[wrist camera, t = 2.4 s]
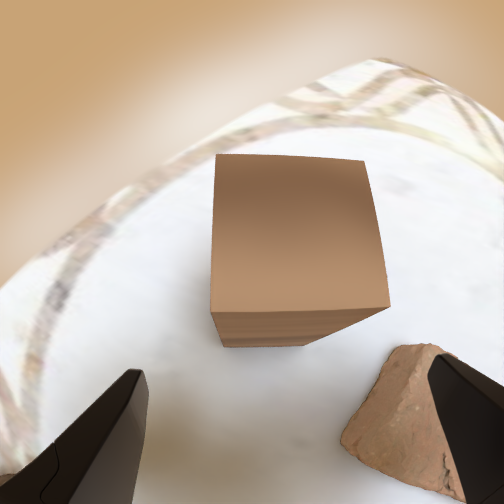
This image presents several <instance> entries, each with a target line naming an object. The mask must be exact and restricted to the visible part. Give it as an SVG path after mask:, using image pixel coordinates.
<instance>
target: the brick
mask: <svg viewBox="0 0 504 504" xmlns="http://www.w3.org/2000/svg"><path fill="white" fill-rule="evenodd" d="M442 353H449V352H446V351H444V350H442V349H441V348H440V347H439V346H436V345H432V344H430V343H429V344H427V345H426V344H422V343H421V344H418V345H401V346H399V347H398V348H396V349H395V350H394V352H393V353H392V354H391V355H390V356H389V359H388V361H386V362H385V363H384V365H383V366H382V368H381V373H380V374H379V378H378V379H377V381H376V385H375V386H374V387H373V389H372V391H371V392H370V393H369V394H368V397H367V399H366V401H365V402H363V403H362V405H361V406H360V408H359V410H358V411H357V412H356V413H355V414H354V415H353V416H352V418H351V419H350V421H349V423H348V425H347V427H346V428H345V430H344V431H343V433H342V437H341V441H340V442H341V445H343V446H344V447H345V448H346V450H347V451H349V453H350V454H351V455H353V456H356V457H357V458H358V459H359V460H360V461H361V462H363V463H364V464H366V465H367V466H370V467H371V468H374V469H376V470H379V471H380V472H382V473H384V474H386V475H388V476H390V477H393V478H395V479H397V480H399V481H401V482H404V483H406V484H409V485H412V486H416V487H421V488H423V489H425V490H430V491H436V492H438V493H440V494H445V495H448V496H451V497H452V498H454V499H456V500H459V501H461V502H464V503H466V500H465V496H464V493H463V489H462V486H461V483H460V479H459V476H458V473H457V470H456V467H455V464H454V460H453V457H452V454H451V451H450V449H449V446H448V443H447V440H446V437H445V434H444V432H443V429H442V426H441V423H440V421H439V418H438V415H437V411H436V408H435V404H434V400H433V397H432V393H431V390H430V386H429V383H428V379H427V373H428V370H429V368H430V366H431V364H432V362H433V360H434V358H435V356H436V355H437V354H442ZM449 354H450V355H452V356H454V355H453V354H451V353H449ZM454 357H455V358H457V359H458V357H456V356H454ZM465 364H466V363H465ZM467 365H468V364H467Z"/></svg>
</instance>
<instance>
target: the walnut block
mask: <svg viewBox="0 0 504 504" xmlns="http://www.w3.org/2000/svg"><path fill="white" fill-rule="evenodd" d="M389 307H391V305H390V297H389V289H388V282H387V274H386V268H385V261H384V255H383V249H382V243H381V237H380V232H379V227H378V221H377V216H376V211H375V206H374V202H373V197H372V192H371V188H370V184H369V179H368V175H367V171H366V167H365V163H364V161H358V160H347V159H335V158H321V157H305V156H286V155H255V154H216V161H215V179H214V200H213V225H212V255H211V299H210V312H211V315H212V317H213V320H214V323H215V325H216V328H217V331H218V333H219V336H220V338H221V341H222V343H223V346H224V347H282V346H304V345H306V344H309V343H311V342H314V341H316V340H318V339H321V338H323V337H326V336H328V335H330V334H332V333H335V332H337V331H339V330H342V329H344V328H346V327H348V326H351V325H353V324H355V323H357V322H359V321H362V320H364V319H366V318H368V317H370V316H372V315H374V314H376V313H378V312H381V311H383V310H385V309H387V308H389Z"/></svg>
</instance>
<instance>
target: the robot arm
mask: <svg viewBox="0 0 504 504" xmlns="http://www.w3.org/2000/svg"><path fill="white" fill-rule="evenodd" d="M427 379H428V383H429V386H430V390H431V393H432V397H433V400H434V404H435V408H436V411H437V415H438V418H439V421H440V423H441V426H442V429H443V432H444V434H445V437H446V440H447V443H448V446H449V449H450V451H451V454H452V457H453V460H454V464H455V467H456V470H457V473H458V476H459V479H460V483H461V486H462V489H463V493H464V496H465V500H466V504H504V387H503V386H502V385H500V384H499V383H497V382H495V381H494V380H492V379H490V378H489V377H487V376H485V375H484V374H482V373H480V372H479V371H477V370H475V369H474V368H472V367H470V366H469V365H467V364H465V363H464V362H462V361H460V360H459V359H457V358H455V357H454V356H452V355H450V354H449V353H442V354H437V355H436V356H435V358H434V360H433V362H432V364H431V366H430V368H429V370H428V373H427ZM148 397H149V390H148V386H147V382H146V379H145V375H144V372H143V370H141V369H128V370H127V371H126V372H125V373H124V374H123V375H122V376H120V377H119V378H118V379H117V380H116V381H115V382H114V383H113V384H112V385H111V386H110V387H109V388H108V389H107V390H106V391H105V392H104V393H103V394H102V395H101V396H100V397H99V398H98V399H97V400H96V401H95V402H94V403H93V404H92V405H91V406H90V407H89V408H88V409H87V410H85V411H84V412H83V413H82V414H81V415H80V416H79V417H78V418H77V419H76V420H75V421H74V422H73V423H72V424H71V425H70V426H69V427H68V428H67V429H66V430H65V431H64V432H63V433H62V434H61V435H60V436H59V437H58V438H57V439H56V440H55V441H54V443H51V444H50V445H49V446H48V447H47V448H46V449H45V450H44V451H43V452H42V453H41V454H40V455H39V456H38V457H37V458H35V459H34V460H33V461H32V462H31V463H29V464H28V465H27V466H26V467H25V468H23V469H22V470H21V471H19V472H18V473H17V474H15V475H14V476H13V477H11V478H10V479H9V480H7V481H6V482H5V483H3V484H2V485H1V486H0V504H132V500H133V494H134V489H135V484H136V478H137V473H138V468H139V463H140V459H141V454H142V449H143V444H144V438H145V427H146V416H147V406H148Z"/></svg>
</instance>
